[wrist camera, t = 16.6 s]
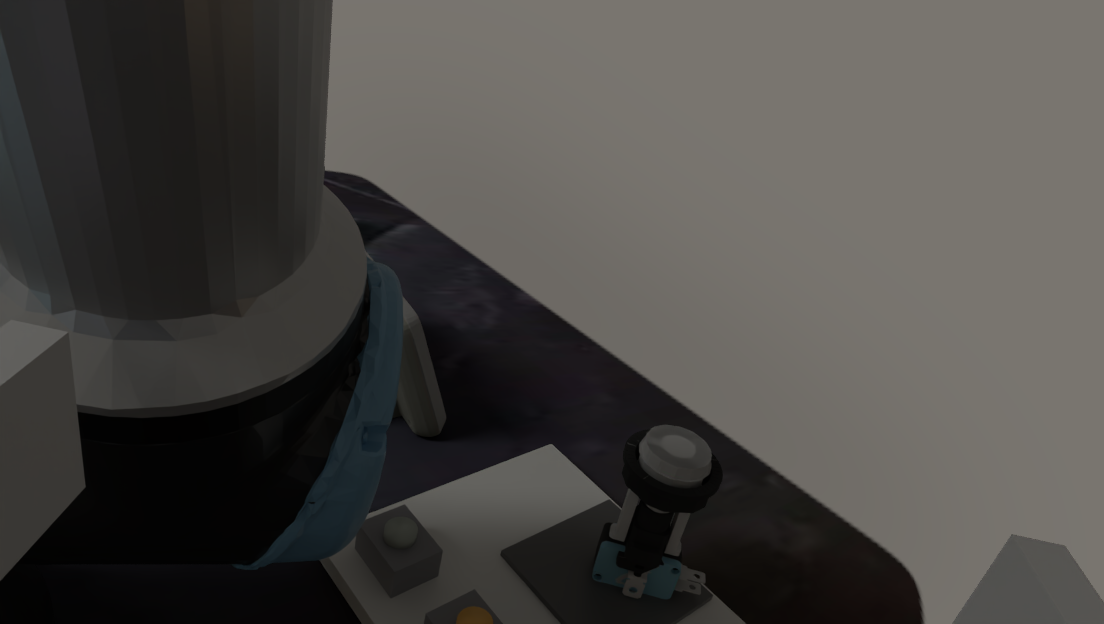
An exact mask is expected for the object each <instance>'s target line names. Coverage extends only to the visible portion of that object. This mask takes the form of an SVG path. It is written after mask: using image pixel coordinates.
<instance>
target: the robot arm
mask: <svg viewBox="0 0 1104 624" xmlns="http://www.w3.org/2000/svg"><path fill="white" fill-rule="evenodd" d="M332 2H333V1H332V0H0V624H55V623H54V616H53V610H52V604H51V598H50V594H49V591H48V588H47V586H46V583H45V581H44V579H43V577H42V575H41V573H40V571H39V570H38V568H37V567H36V565H35V564H231V565H232V566H233V567H235V568H238V569H244V570H256V569H258V568H260V567H265V566H266V565H268V564H272V563H281V562H301V561H316V560H321V559H324V558H327V557H331V556H333V555H335V554H336V553H338V552H340V551H341V550H342V549H344V548H345V547H346V546H347V545H348V544H349V543H350V542H351V541H352V540H353V539H354V538H355V536H356V535H357V533H358V531H359V530H360V528H361V527H362V525H363V523H364V521H365V519H366V517H367V515H368V512H369V510H370V507H371V504H372V502H373V499H374V496H375V493H376V490H377V487H378V483H379V480H380V476H381V472H382V468H383V464H384V460H385V455H386V443H387V438H386V432H387V430H388V428H389V426H390V423H391V421H392V416H393V412H394V408H395V404H396V399H397V392H398V385H399V377H400V368H401V358H402V347H403V297H402V290H401V286H400V282H399V279H398V277H397V276H396V274H395V273H394V271H393V270H392V269H390V268H389V267H388V266H386V265H384V264H381V263H378V262H374V261H372V260H371V259H370V258H368V257H367V256H366V252H365V248H364V244H363V240H362V237H361V234H360V231H359V228H358V226H357V224H356V222H355V221H354V219H353V217H352V216H351V214H350V212H349V211H348V209H347V208H346V207H345V206H344V205H343V204H342V202H341V201H340V200H339V199H338V198H337V197H336V196H335V195H334V194H333V193H332V192H331V191H330V190H329V189H328V188H327V187H326V186H325V185H323V177H324V158H325V138H326V118H327V98H328V79H329V60H330V40H331V20H332ZM953 624H1104V603H1103V601H1102V599H1101V598H1100V596H1099V595H1098V593H1097V592H1096V590H1095V589H1094V588H1093V586H1092V585H1091V583H1090V582H1089V580H1088V579H1087V578H1086V576H1085V575H1084V573H1083V571H1082V570H1081V569H1080V567H1079V566H1078V564H1077V563H1076V561H1075V560H1074V558H1073V557H1072V556H1071V554H1070V552H1069V551H1068V550H1067V548H1066V547H1065V546H1064V545H1059V544H1054V543H1049V542H1045V541H1040V540H1036V539H1031V538H1026V537H1022V536H1017V535H1011V537H1010V538H1009V539H1008V541H1007V542H1006V544H1005V545H1004V547H1003V548H1002V550H1001V551H1000V553H999V554H998V556H997V558H996V559H995V560H994V562H993V563H992V565H991V566H990V568H989V570H988V571H987V573H986V574H985V575H984V577H983V578H982V580H981V581H980V583H979V584H978V586H977V588H976V589H975V591H974V592H973V593H972V595H971V596H970V598H969V600H968V601H967V602H966V604H965V606H964V607H963V608H962V610H961V611H960V613H959V614H958V616H957V617H956V619H955V621H954V622H953Z"/></svg>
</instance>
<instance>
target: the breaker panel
mask: <svg viewBox="0 0 1104 624" xmlns="http://www.w3.org/2000/svg"><path fill="white" fill-rule="evenodd" d="M621 510H622V509H621V508H620V507H619V506H618V505H617V504H616V503H615V502H614V501H613V500H612V499H611V498H609V497H608V496H607V495H606V494H605V493H604V492H603V491H602V490H601V489H600V488H599V487H598V486H596V485H595V484H594V483H593V482H592V481H591V480H590V479H589V478H588V477H587V476H586V475H585V474H583V473H582V472H581V471H580V470H579V469H578V468H577V467H576V466H575V465H574V464H573V463H572V462H570V461H569V460H568V459H567V458H566V457H565V456H564V455H563V454H562V453H561V452H560V451H559V450H558V449H556V448H555V447H554V446H553V445H552V444H549V445H547V446H544V447H542V448H539V449H536V450H534V451H531V452H529V453H526V454H523V455H521V456H518V457H516V458H513V459H510V460H508V461H505V462H502V463H500V464H497V465H495V466H492V467H489V468H487V469H484V470H482V471H479V472H476V473H474V474H471V475H469V476H466V477H463V478H461V479H458V480H456V481H453V482H450V483H448V484H445V485H442V486H440V487H437V488H435V489H432V490H429V491H427V492H424V493H422V494H419V495H416V496H414V497H411V498H409V499H406V500H403V501H401V502H398V503H395V504H393V505H390V506H388V507H385V508H382V509H380V510H377V511H375V512H372V513H369V514H368V515H367V517H366V519H365V521H364V523H363V525H362V527H361V528H360V530H359V531H358V533H357V535H356V536H355V538H354V539H353V540H352V541H351V542H350V543H349V544H348V545H347V546H346V547H345V548H344V549H342V550H341V551H340V552H338V553H336V554H335V555H333V556H331V557H327V558H324V559H321V560H319V561H320V562H321V563H322V565H323V566H324V568H325V569H326V571H327V572H328V574H329V575H330V577H331V578H332V580H333V581H334V583H335V584H336V586H337V587H338V589H339V590H340V592H341V593H342V595H343V596H344V598H345V599H346V601H347V602H348V604H349V605H350V607H351V608H352V610H353V611H354V613H355V614H356V616H357V617H358V619H359V620H360V622H361V623H362V624H746V623H745V622H744V621H743V620H741V619H740V618H739V617H738V616H737V615H736V614H735V613H734V612H733V611H732V610H731V609H730V608H728V607H727V606H726V605H725V604H724V603H723V602H722V601H721V600H720V599H719V598H718V597H717V596H716V595H714V594H713V593H712V592H711V591H710V590H709V589H708V588H707V587H706V586H705V585H704V584H702V583H699V584H700V585H701V594H700V595H698V594H694V593H691V592H687V591H682V592H680V591H676V590H674V591H673V594H672V596H671V598H670V599H661V598H658V597H654V596H650V595H647V594H643V593H642V595H641V598H638V599H637V598H633V597H629V596H626V595H624V594H623V593H622V591H623V588H622V587H618V586H614V585H611V584H607V583H604V582H598V581H596V580H594V579H593V578H592V573H593V566H594V560H595V553H596V548H597V545H598V542H599V539H600V536H601V533H602V530H603V526H604V524H605V523H608V522H610V523H617V522H618V519H619V516H620V513H621ZM681 565H682V564H681ZM694 577H695V576H694ZM695 578H696V577H695ZM687 580H688V579H687ZM688 581H691V580H688ZM691 582H695V581H691ZM695 583H698V582H695ZM689 587H690V589H692V590H695V589H696V588H695V587H694V586H693V585H689ZM629 591H630V592H633V593H635V592H636V591H632V590H629Z"/></svg>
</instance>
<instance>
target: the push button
mask: <svg viewBox="0 0 1104 624" xmlns="http://www.w3.org/2000/svg"><path fill="white" fill-rule="evenodd" d="M623 460H624V463H625V465H624V468H623V471H622V475H623V478H624V481H625V484H626V486H627V487H628V488H629V489H628V492H627V495H626V498H625V501H624V504H623V507H622V510H621V513H620V516H619V519H618V522H617V523H610V522H608V523H605V524H604V526H603V530H602V533H601V536H600V539H599V542H598V545H597V548H596V553H595V560H594V566H593V573H592V578H593V579H594V580H596V581H598V582H604V583H607V584H611V585H614V586H618V587H622V588H623V591H622V593H623V594H624V595H626V596H629V597H633V598H637V599H638V598H641V595H642V593H643V594H647V595H650V596H654V597H658V598H661V599H670V598H671V596H672V594H673V591H674V590H676V591H680V592H682V591H687V592H691V593H694V594H698V595H700V594H701V585H700V584H699V583H702V584H705V582H706V579H705V573H703V572H699V571H695V570H692V569H688V568H687V566H684V565H681V555H682V544H681V542H680V539H681V536H682V534H683V531H684V529H685V526H686V523H687V521H688V518H689V516H690V513H694V512H696V511H698V510H700V509H702V508H704V507H705V505H706V503H707V500H708V498H709V497H711V496H712V495H714V494H715V493H716V492H717V490H718V489H719V486H720V484H721V482H722V477H723V474H722V469H721V466H720V464H719V462H718V460H717V459H716V457H715V456H714V455H713V454H712V453H711V450H710V448H709V447H708V444H707V443H706V442H705V441H704V440H703V439H702V438H700V437H699V436H698V435H696V434H695V433H693V432H691V431H689V430H686V429H684V428H681V427H678V426H670V425H661V426H657V427H653V428H652V429H649V430H643V431H640V432H637V433H635V434H634V435H632V436H631V437H630V438H629V439H628V440H627V442H626V445H625V448H624V451H623ZM637 460H638V461H637ZM701 484H702V486H701ZM639 498H640V499H641V501H640V503H639V505H638V506H636V505H637V502H638V499H639ZM674 512H675V516H674V518H673V521H672V524H671V526H670V522H671V519H672V516H673V514H674ZM694 574H697V575H699V576H700V579H697V578H695V577H694ZM687 579H688V580H691V581H695V582H698V583H695V582H691V581H688V580H687ZM689 585H693V586H694V587H695V588H696V589H695V590H692V589H690V587H689ZM629 590H632V591H636V592H635V593H633V592H630V591H629Z"/></svg>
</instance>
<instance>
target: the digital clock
mask: <svg viewBox="0 0 1104 624" xmlns="http://www.w3.org/2000/svg"><path fill="white" fill-rule="evenodd" d="M365 252H366V251H365ZM366 256H367V257H368V258H370V259H371V260H372V258H371V257H370V256H369V255H368V253H367V252H366ZM372 261H373V260H372ZM402 297H403V296H402ZM399 416H403V418H404V419H405V421H406V422H407V424H408V425H409V427H410V428H411V430H412V431H413V432H414V433H415V434H417V435H420V436H424V437H433V436H436V435H438V434H440V432H441V430H442V428H443V426H444V423H445V421H446V413H445V409H444V406H443V402H442V398H441V394H440V391H439V387H438V383H437V380H436V376H435V372H434V368H433V365H432V361H431V357H430V354H429V350H428V346H427V342H426V339H425V335H424V332H423V328H422V325H421V322H420V320H419V318H418V316H417V314H416V313H415V311H414V310H413V309H412V307H411V306H410V305H409V304H408V302H407V301H406V300H405V299H404V297H403V347H402V358H401V368H400V377H399V385H398V392H397V399H396V404H395V408H394V412H393V416H392V418H394V417H399Z"/></svg>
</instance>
